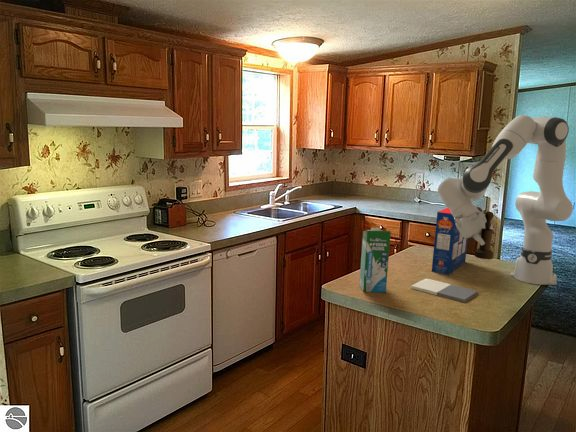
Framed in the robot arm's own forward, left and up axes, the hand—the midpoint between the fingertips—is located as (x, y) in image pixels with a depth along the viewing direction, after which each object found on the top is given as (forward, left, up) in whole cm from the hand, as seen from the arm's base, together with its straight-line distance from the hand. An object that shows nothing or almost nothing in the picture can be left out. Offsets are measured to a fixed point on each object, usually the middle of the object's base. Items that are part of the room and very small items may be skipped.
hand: (487, 243), depth 183 cm
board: (+4, -13, -22) cm, 26 cm away
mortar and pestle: (0, -1, -6) cm, 6 cm away
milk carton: (+23, -35, -22) cm, 47 cm away
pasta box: (-33, -26, -22) cm, 48 cm away
